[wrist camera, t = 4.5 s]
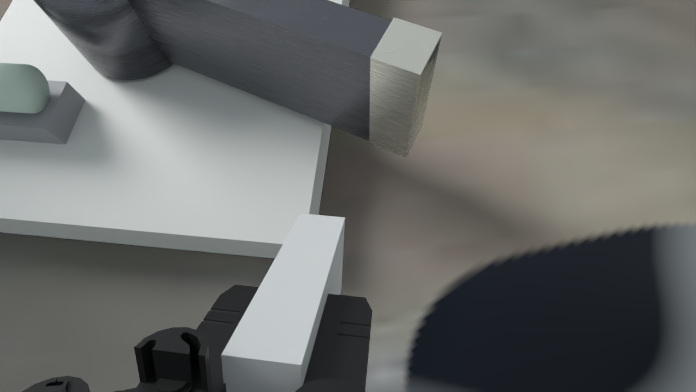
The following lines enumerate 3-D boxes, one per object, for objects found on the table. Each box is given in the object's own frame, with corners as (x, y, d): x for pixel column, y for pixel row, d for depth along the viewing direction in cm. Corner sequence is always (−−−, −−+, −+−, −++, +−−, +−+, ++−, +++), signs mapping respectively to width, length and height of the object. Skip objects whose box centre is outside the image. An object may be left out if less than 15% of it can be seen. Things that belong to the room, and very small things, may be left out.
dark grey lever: (64, 59, 25) (-41, -52, 18) (130, -11, 27) (57, -132, 20) (388, 196, 20) (398, 112, 14) (435, 98, 22) (463, -13, 16)
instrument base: (-56, 226, 24) (-209, 173, 18) (89, -49, 34) (23, -149, 27) (311, 262, 22) (289, 216, 16) (355, -40, 32) (352, -144, 25)
